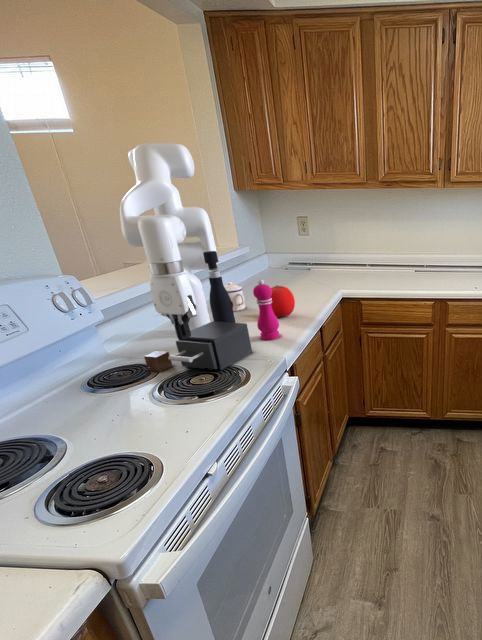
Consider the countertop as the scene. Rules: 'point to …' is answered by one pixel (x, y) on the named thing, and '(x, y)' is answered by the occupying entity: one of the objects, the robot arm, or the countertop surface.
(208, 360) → the drawer
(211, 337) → the cabinet
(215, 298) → the wine bottle
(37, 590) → the countertop surface
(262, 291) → the pepper mill
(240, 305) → the teacup with lid
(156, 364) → the block
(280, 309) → the tomato
